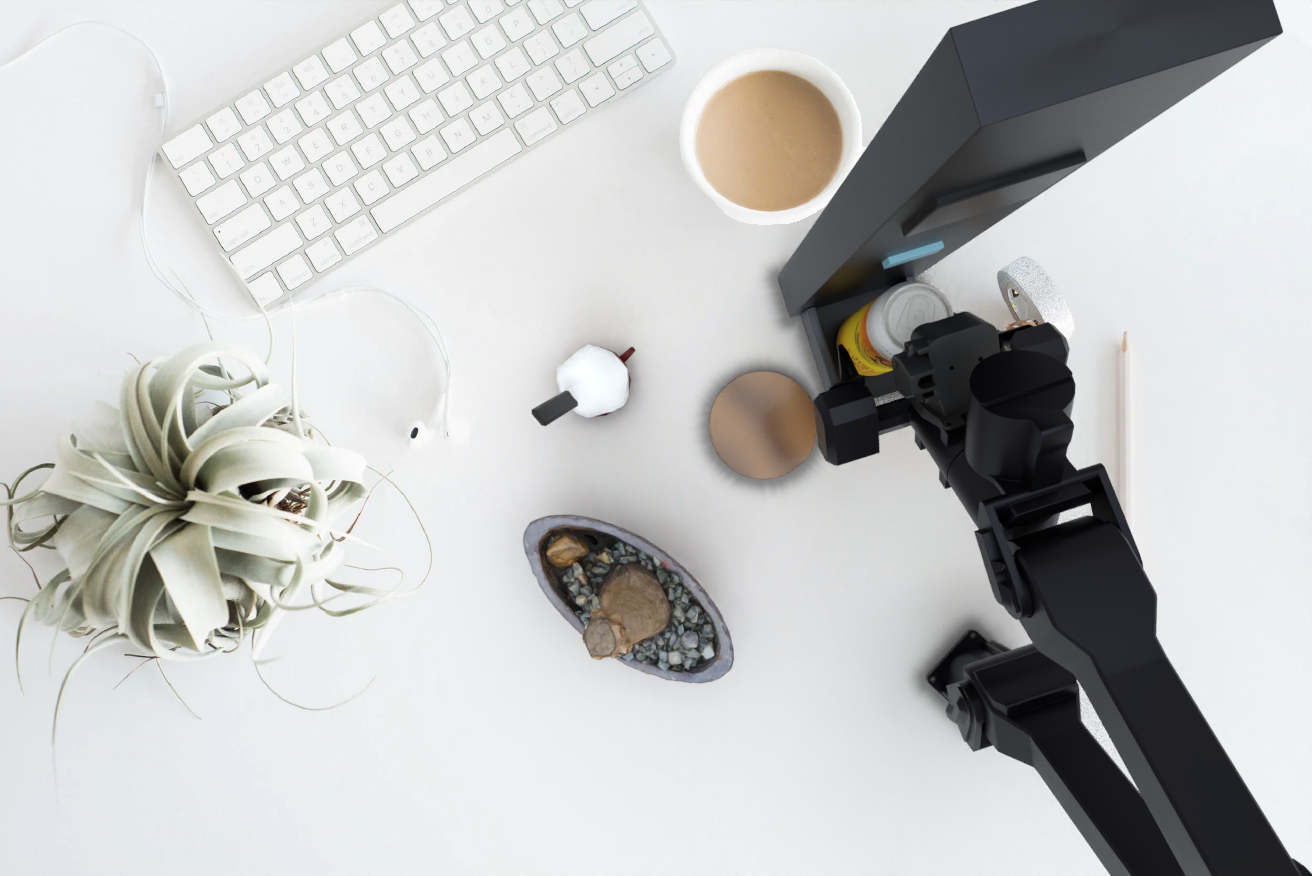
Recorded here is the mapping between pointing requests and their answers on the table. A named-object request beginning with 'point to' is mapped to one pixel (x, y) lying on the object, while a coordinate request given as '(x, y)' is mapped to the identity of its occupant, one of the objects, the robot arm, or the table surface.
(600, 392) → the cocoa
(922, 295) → the beer can
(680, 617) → the planter
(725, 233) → the table surface
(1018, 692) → the robot arm
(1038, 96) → the dispenser
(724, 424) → the cork coaster
